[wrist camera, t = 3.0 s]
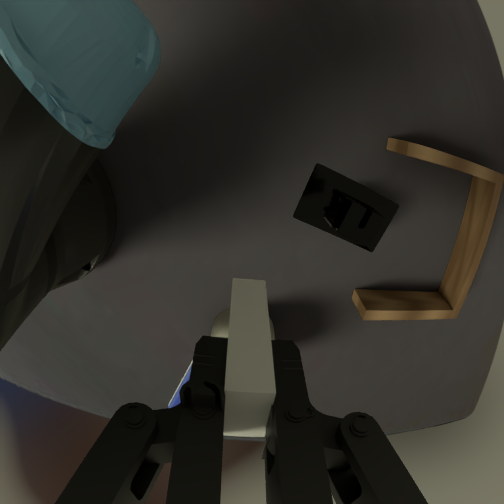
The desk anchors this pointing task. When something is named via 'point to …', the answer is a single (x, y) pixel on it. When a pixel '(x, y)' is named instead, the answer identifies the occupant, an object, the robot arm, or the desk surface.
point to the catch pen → (464, 252)
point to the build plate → (345, 208)
